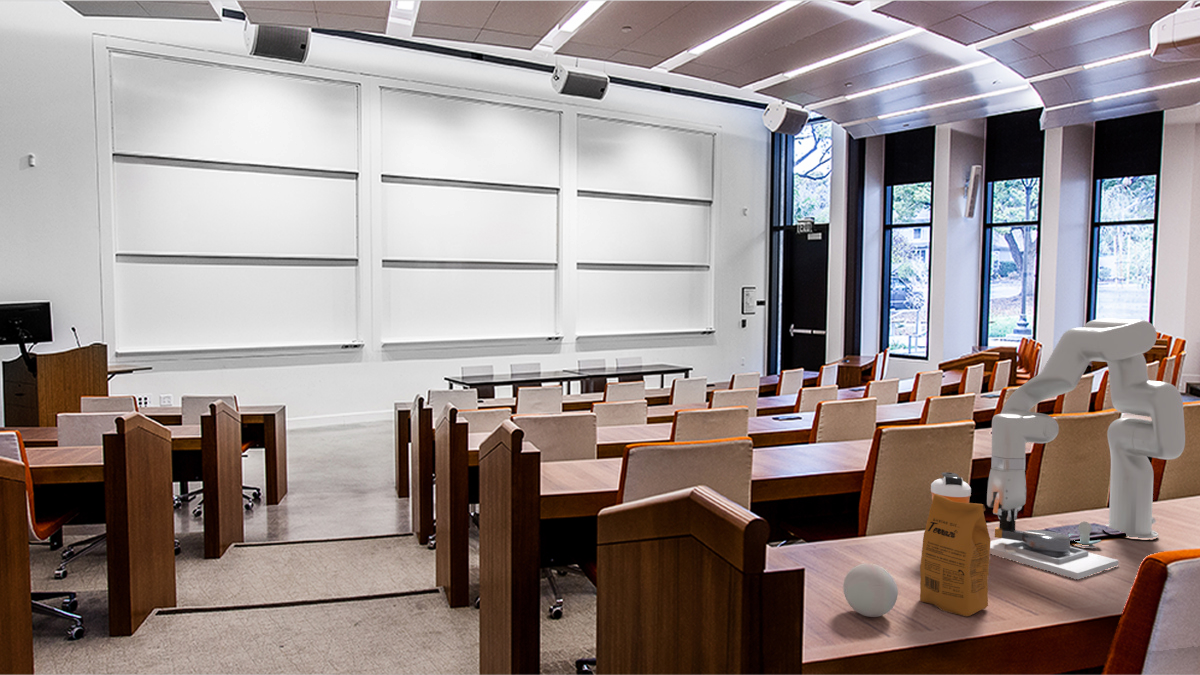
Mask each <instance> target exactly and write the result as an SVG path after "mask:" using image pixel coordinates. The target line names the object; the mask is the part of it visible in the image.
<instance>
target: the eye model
mask: <svg viewBox="0 0 1200 675" xmlns="http://www.w3.org/2000/svg"><path fill="white" fill-rule="evenodd" d="M842 587H843V590H842V591H843V594H844V595H843V596H844V597H845V600H846V602H847V604H848V605H849V606H850V607H851V609H852V610H854V611H855V612H856V613H858V614H860V615H862V616H865V617H870V618H878V617H882V616H884V615H886V614H888V613H889V612H890V611H891V610H892V609H893V608H894V606H895V605H896V603H897V599H898V594H899V589H898V586H897V582H896V581H895V579H894V577H893V576H892V574H890V572H888V571H887V570H886V569H885V568H884V567H882V566H880V565H878V564H876V563H875V564H874V563H861V564H858V565H856V566H854V567H852V568H851V569H850V570H849V571H848V573H847V574H846V576H845V578H844V581H843V585H842Z"/></svg>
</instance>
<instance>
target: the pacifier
mask: <svg viewBox="0 0 1200 675" xmlns="http://www.w3.org/2000/svg"><path fill="white" fill-rule="evenodd" d="M1077 529H1078V531H1079V537H1080V541H1075V540H1074V541H1075V542H1077V543H1079V544H1082V545H1089V546H1082V545H1077V544H1075V545H1077V546H1081V547H1085V548H1096V549H1097V547H1096V546H1095V544H1099V543H1100V542H1102V540H1101V539H1097V540H1090V538H1091V537H1090V534H1091V532H1092V530H1093V527H1092V525H1091V523H1089V522H1088V521H1081V522H1080V523H1078V527H1077ZM1071 535H1075V534H1074V533H1068V537H1070V536H1071Z"/></svg>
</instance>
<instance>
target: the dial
mask: <svg viewBox="0 0 1200 675" xmlns="http://www.w3.org/2000/svg"><path fill="white" fill-rule="evenodd" d="M994 538H996V539H997V538H998V539H1001V538H1004V539H1011V540H1017V541H1023V549H1025V550H1029V551H1032V552H1036V553H1040V554H1043V555H1047V556H1051V557H1054V558H1060V557H1064V556H1067V555H1070V547H1071V545H1070V541H1071V539H1070V538H1069V535H1066V534H1063V533H1060V532H1056V531H1051V530H1043V529H1028V530H1027V529H1026V530H1017V529H1015V530H1011V529H1004V528H999V527H998V526H996V527H995V528H994Z"/></svg>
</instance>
